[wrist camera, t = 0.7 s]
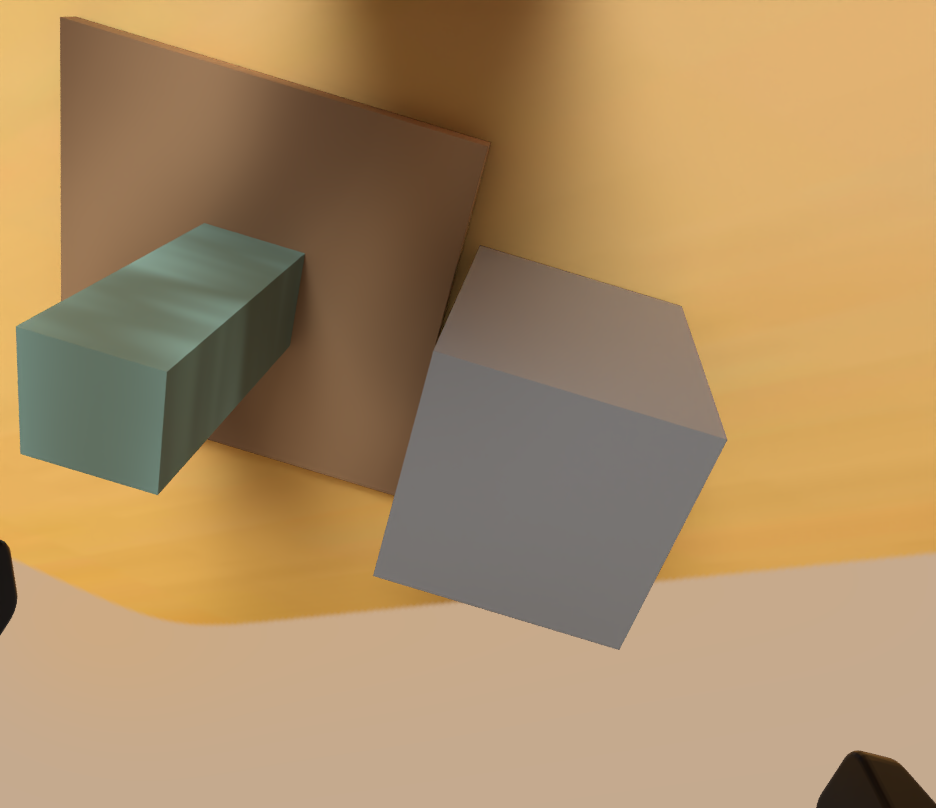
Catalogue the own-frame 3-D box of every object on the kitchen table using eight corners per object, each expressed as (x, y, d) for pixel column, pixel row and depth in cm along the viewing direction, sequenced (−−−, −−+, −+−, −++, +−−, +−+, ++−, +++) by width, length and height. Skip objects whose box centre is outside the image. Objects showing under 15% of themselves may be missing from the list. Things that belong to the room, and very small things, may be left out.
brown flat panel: (490, 142, 17) (433, 222, 11) (399, 484, 22) (319, 687, 15) (75, 17, 17) (-245, 17, 11) (74, 386, 22) (-148, 547, 15)
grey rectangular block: (681, 306, 18) (727, 440, 13) (609, 473, 21) (619, 649, 15) (480, 245, 18) (433, 350, 13) (431, 420, 21) (373, 576, 15)
